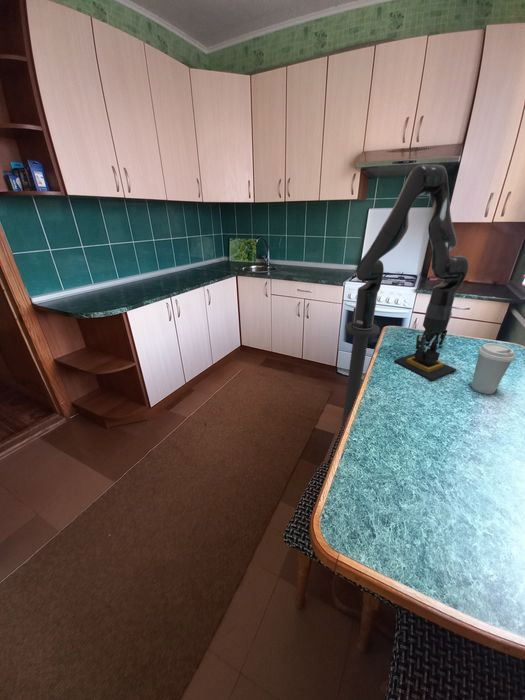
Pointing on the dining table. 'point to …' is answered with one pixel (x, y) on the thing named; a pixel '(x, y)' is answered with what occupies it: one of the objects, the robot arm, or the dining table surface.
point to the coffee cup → (491, 367)
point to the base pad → (425, 367)
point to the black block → (428, 356)
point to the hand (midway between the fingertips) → (426, 357)
